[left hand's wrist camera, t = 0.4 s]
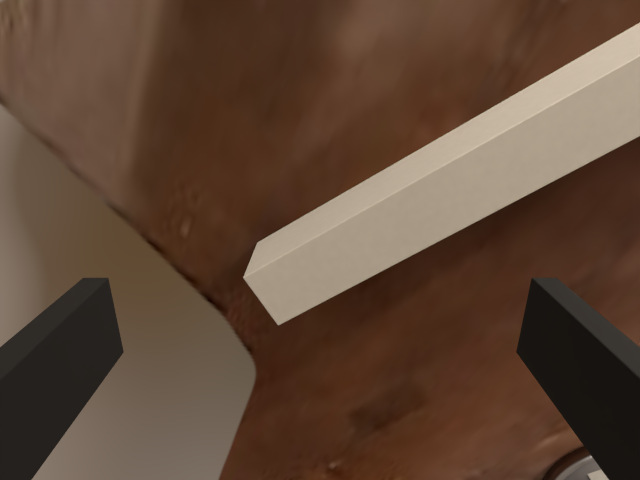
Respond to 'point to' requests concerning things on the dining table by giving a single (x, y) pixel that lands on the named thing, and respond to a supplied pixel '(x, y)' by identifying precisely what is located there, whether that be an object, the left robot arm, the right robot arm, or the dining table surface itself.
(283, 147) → the dining table surface
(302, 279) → the post
